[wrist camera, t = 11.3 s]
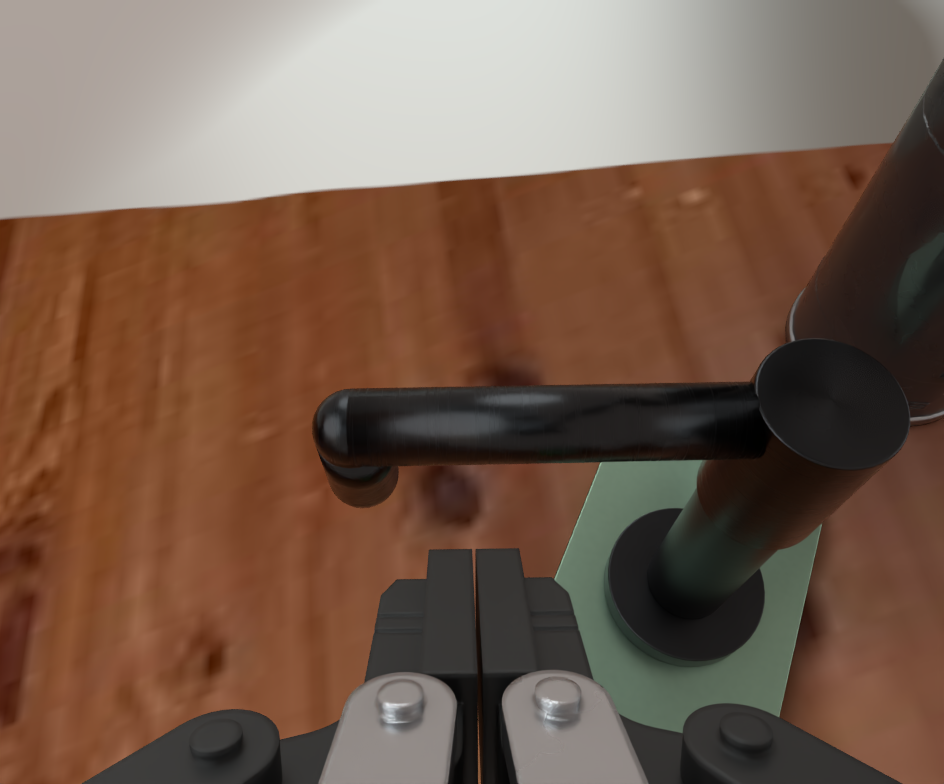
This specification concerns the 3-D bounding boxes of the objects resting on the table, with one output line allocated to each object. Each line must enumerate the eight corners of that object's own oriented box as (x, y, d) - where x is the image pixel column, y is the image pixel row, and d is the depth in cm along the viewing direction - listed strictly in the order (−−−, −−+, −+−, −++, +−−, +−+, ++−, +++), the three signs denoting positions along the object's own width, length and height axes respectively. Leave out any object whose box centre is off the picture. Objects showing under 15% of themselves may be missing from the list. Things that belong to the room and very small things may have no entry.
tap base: (614, 426, 38) (665, 285, 29) (818, 504, 36) (944, 379, 27) (504, 703, 31) (523, 637, 22) (747, 817, 29) (882, 798, 20)
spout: (802, 437, 25) (885, 335, 20) (834, 549, 23) (933, 467, 18) (341, 445, 25) (311, 344, 20) (333, 561, 23) (298, 480, 18)
